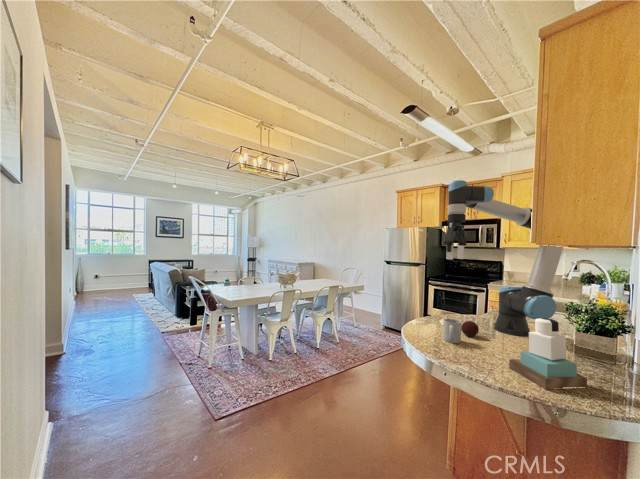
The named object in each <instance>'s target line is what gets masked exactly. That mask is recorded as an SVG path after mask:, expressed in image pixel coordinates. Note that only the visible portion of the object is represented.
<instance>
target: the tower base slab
mask: <svg viewBox="0 0 640 479" xmlns="http://www.w3.org/2000/svg"><path fill="white" fill-rule="evenodd" d="M508 360H509V362H508V363H509V365H508V367H509V368H508V369H510V370H511V371H513V372H515V373H517V374H518V375H520V376H521V377H523V378H525V379H527V380H528V381H530V382H532V383H534V384H536V385H537V386H539V387H541V389H544V390H546V389H548V390H555V389H554V388H563V387H587V388H588V377H586V376H583V375H581V374H579V373H577V377H546V376H544V375H542V374H540V373H538V372H536V371H535V370H533V369H531V368H529V367H527V366H525V365H523V364H522V363H520V362H521V358H517V359H516V358H515V359H514V358H513V359H511V358H510V359H509V358H508Z"/></svg>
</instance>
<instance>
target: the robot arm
mask: <svg viewBox="0 0 640 479" xmlns="http://www.w3.org/2000/svg"><path fill="white" fill-rule="evenodd" d="M447 189H448V190H447V193H448V198H447V199H448V200H447V201H448V202H447V209H446V210H447V213H448V214H447V229H446V233H445V238H444V243H443V244H444V246H445V245H446V248H445V249H446V253H445V254H446V255H445V256H446V257H445V259H446V260H454V242H455V238H456V240H457V243H458V245H457V259H459V260H464V259H465V246H467V241H466V240H467V239H466V232H465V225H464V224H463V223H465V222H466V216H467V215H466V213H467V208H468V209H471V210H472V209H473V210H476V211H479V212H482V213H485V214H488V215H492V216H494V217H498V218H502V219H504V220H508V221H511V222H514V223H516V224H517V225H518V226H519V227H523V228H526V229H528V230H529V229H530V230H532V229H531V212H532V209H533V208H530V207H519V206H517V205H513V204H510V203H507V202H502V201H500V200H496V199H493V198H494V194H495V193H494V192H495V190H494V189H493V187H492V186H486V185H482V186H481V185H468V182H467V181H466V180H463V179H460V180H459V179H457V180H452V181H450V182H449V184H448V188H447ZM563 250H564V247H556V246H543V245H540V244H539V246H538V248H537V252H536V255H535V259H534V262H533V265H532V269H531V271H530V275H529V278H528V281H527V283H526V284H523V285H522V286H505V285H504V286H500V287H499V291H498V314H497V316H496V319H495V322H494V324H493V328H494V330H495V331H498V332H500V333H503V334H506V335H507V334H508V335H511V336H518V337H519V336H520V337H527V336H528V337H529V332H531V329H530V327H529V324H528V320H527V318H528V319H532V320H535V319H538V318H547V319H552V317H553V316H554V315H555V313H556V311H557V309H558V308H557V307H558V306H557V303H556V301H555V299H554V293H553V291H552V290H551V289H552V286H553V283H554V279H555V277H556V272H557V269H558V267H559V264H560V260H561V256H562V254H563Z"/></svg>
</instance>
